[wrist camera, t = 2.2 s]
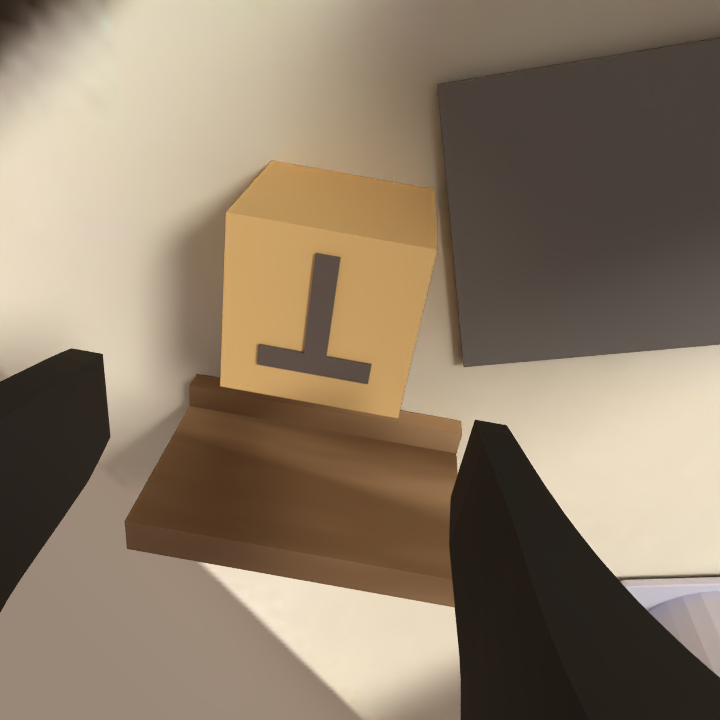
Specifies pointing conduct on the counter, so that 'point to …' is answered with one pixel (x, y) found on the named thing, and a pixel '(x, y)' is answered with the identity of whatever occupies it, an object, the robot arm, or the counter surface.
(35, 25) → the counter surface
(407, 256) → the lettered cube
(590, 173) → the charcoal mat
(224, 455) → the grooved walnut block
